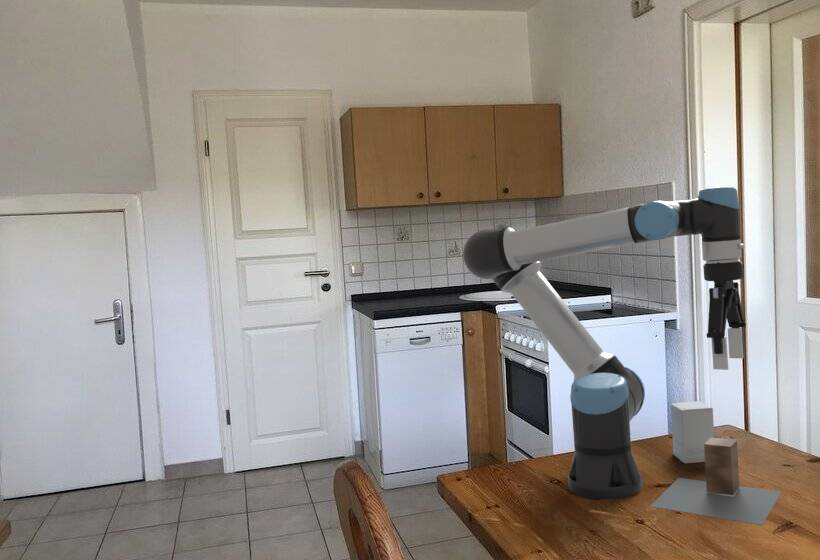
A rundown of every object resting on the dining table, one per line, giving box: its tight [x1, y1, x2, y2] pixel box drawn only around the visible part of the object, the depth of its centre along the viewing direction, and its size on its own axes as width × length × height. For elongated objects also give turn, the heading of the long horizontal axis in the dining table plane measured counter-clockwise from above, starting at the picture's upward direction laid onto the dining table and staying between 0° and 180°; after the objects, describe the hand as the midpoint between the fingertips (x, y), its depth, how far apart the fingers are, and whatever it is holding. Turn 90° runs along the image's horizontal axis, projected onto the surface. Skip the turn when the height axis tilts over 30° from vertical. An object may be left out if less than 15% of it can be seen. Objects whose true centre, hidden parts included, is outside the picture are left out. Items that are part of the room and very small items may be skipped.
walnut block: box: [704, 437, 740, 497], centre depth 144 cm, size 5×5×10 cm
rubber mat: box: [649, 477, 783, 526], centre depth 141 cm, size 20×18×1 cm
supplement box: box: [670, 400, 715, 464], centre depth 166 cm, size 7×7×13 cm
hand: (728, 363), depth 151 cm, fingers open, 12 cm apart
